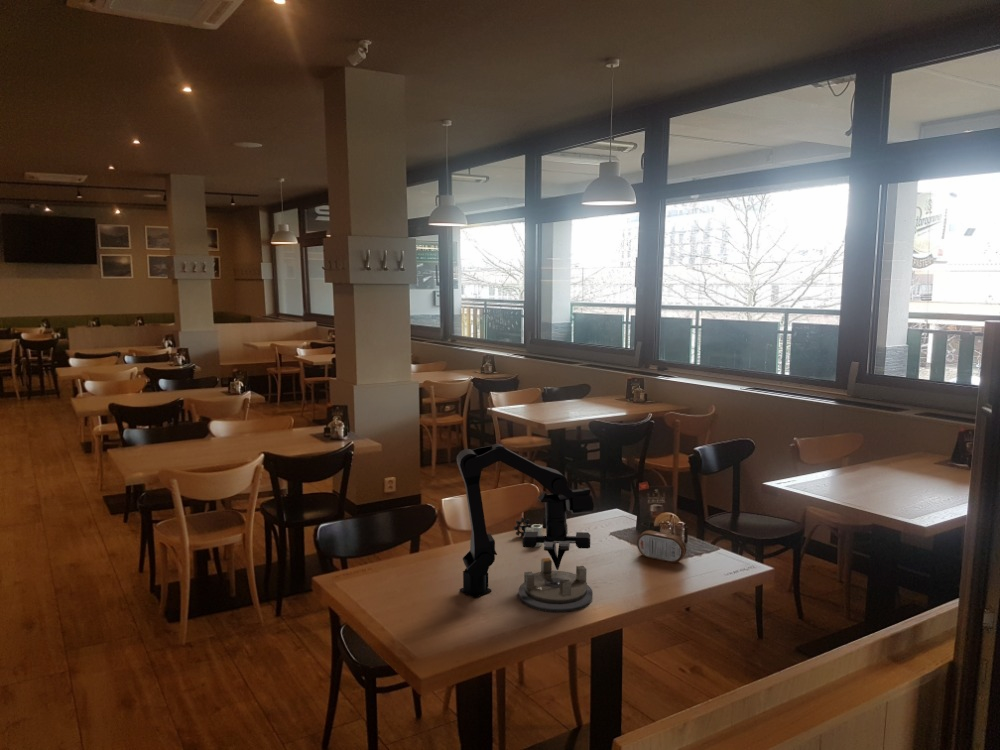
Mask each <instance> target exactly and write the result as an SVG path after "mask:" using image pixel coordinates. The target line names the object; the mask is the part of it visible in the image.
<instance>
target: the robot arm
mask: <svg viewBox="0 0 1000 750" xmlns="http://www.w3.org/2000/svg"><path fill="white" fill-rule="evenodd" d="M497 462H500V463H503V464H505V465H507V466H509V467H510V468H513V469H515V470H517V471H519V472H520V473H522V474H524V475H526V476H528V477H530V478H532V479H534V480H535V481H536V482H537V483H538V484H540V485H541V486H543V488H545V489H546V490H548V491H549V492H550V493H546V491H543V492H541V494H540V495H539V496H538V497H537V500H538V501H539V502H541V504H542V503H545V516H544V517H542V526H543V529H546V530H545V535H543V536H538V532H526V533H525V534H524V536H523V537H522V547H523V548H525V549H526V548H528V549H529V548H530V549H534V548H536V547H535V546H536V544H537V543H542V544H543V545H544V547H543V551H545V552H548V554H549V556H550V559H552V560H551V561H552V563H553V564H554V567H555V569H556V571H559V569H560V565H561V562H562V559H563V557H564V555H565V553H566V552H569V551H570V545H571V544H575V547H577V549H590V548H591V534H590V533H589V532H585V531H584V532H581V531H580V532H578V531H576V532H575V536H574V535H568V532H569V531H568V523H567V512H570V513H571V515H577V514H589V513H592V512H593V511H594V507H595V506H594V501H593V497H592V494H591V489H590V488H589V487H584V488H580V489H572V488H571V487H569V486H568V484H569V483H568V479H567V477H565V475H563V474H562V473H561V472H560V471H559V470H557V469H555V468H551V467H548V466H544V465H540V464H538V463H535V462H533V461H531V460H529V459H527V458H525V457H524V456H521V455H519V453H516V452H514V451H513V450H511V449H508V448H507V447H504V445H502V444H501V443H494V444H492V445H487V446H482V447H477V448H474V449H470V448H465V449H463V450H460V451H459V452H458V454H457V455H456V463H457V467H458V469H459V472H460V476H461V477H462V480H463V484H464V487H465V494H466V495H465V496H466V501H467V508H468V514H469V522H470V528H471V535H470V543H469V544H470V545H469V546H470V547H469V548H470V549H469V551H468V552H467V553H466V554H465V555H464V556H463V557H462V562H463V565H464V566H465V569H464V570H463V571H462V585H463V587H461V588H459V592H461V593H463V594H464V595H467V596H469V597H471V598H474V599H476V598H478V597H481V596H483V595H486V594H488V593H491V592H492V588H489V573H488V571H489V569H490V567H491V566H492V565H493V563H494V562H495V559H496V556H497V555H498V553H497V552H496V541H495V539H494V537H493V535H492V534H491V533H487V526H486V520H485V513H484V505H483V501H482V498H483V497H482V491H481V486H480V485H481V477H482V469H485V468H488V467H489V466H491V465H493V464H495V463H497ZM556 544H558V549H557V545H556Z"/></svg>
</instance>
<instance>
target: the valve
mask: <svg viewBox="0 0 1000 750" xmlns="http://www.w3.org/2000/svg"><path fill="white" fill-rule="evenodd" d="M530 520H531V519H528V518H526V519H525V518H524V517H520V520H516V521H515V523H516V526H514V527H513V530H515V531H516V532H515V535H516V536H521V537H522V536H524V534H525V533H526V532H538V536H544V533H543V531H544V530H543V529H544V528H543V524H540V523H539V524H536V523H535V524H531V521H530ZM523 523H525V524H523ZM520 530H521V531H520ZM542 546H543V543H537V544H536V546H535V547H534V548H541V547H542Z"/></svg>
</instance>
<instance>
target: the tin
mask: <svg viewBox="0 0 1000 750" xmlns="http://www.w3.org/2000/svg"><path fill="white" fill-rule="evenodd" d="M636 541H637V542H636V545H637V550H638V551H639V552H640V554H641V555H643V556H644V557H646V558H648V559H652V560H656V561H661V562H665V561H667V563H670V562H671V563H672V564H675V563H677V562H680V561H681V560H682V559H683V558H684V557H685V555H686V553H687V547H686V544H685V542H684V540H682V538H680V537H679V536H678V535H675V534H671V533H667V532H660V531H655V530H649V529H648V530H647V529H646V530H644V531H642V532H641V534H640V535H639V536H638V538H637V540H636Z"/></svg>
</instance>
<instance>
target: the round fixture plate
mask: <svg viewBox="0 0 1000 750" xmlns="http://www.w3.org/2000/svg"><path fill="white" fill-rule="evenodd" d="M551 559H552V558H551V557H546V558H545V557H544V558H541V560H540V571H538V572H534V573H533V572H532V571H525V572H524V571H523V572H524V574H523V575H524V577H523V578H524V580H523V583H524V591H525V593H526V595H527V596H529V597H530V598H532V599H534V600H537V601H540V602H544V603H552V604H564V603H571V602H575V601H578V600H580V599H582V598H583V597H585V595H586V594H587V585H588V583H587V568H586V567H585V566H584V565H576V567H575V568H576V569H575V570H576V571H575V572H576V573H574V572H573V573H572V572H570V571H565V570H564V571H562V570H552V563H553V560H551Z"/></svg>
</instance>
